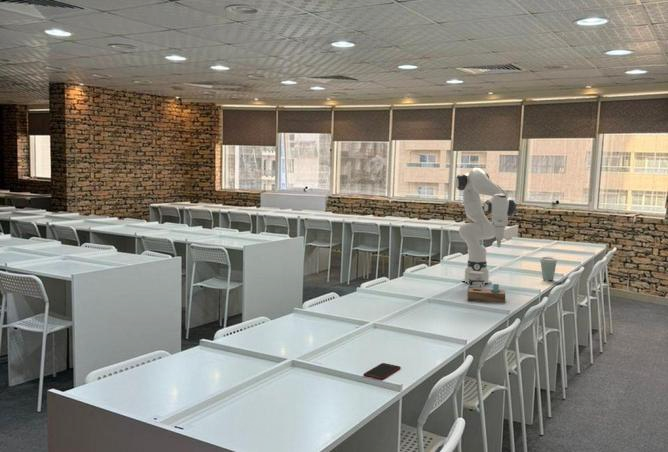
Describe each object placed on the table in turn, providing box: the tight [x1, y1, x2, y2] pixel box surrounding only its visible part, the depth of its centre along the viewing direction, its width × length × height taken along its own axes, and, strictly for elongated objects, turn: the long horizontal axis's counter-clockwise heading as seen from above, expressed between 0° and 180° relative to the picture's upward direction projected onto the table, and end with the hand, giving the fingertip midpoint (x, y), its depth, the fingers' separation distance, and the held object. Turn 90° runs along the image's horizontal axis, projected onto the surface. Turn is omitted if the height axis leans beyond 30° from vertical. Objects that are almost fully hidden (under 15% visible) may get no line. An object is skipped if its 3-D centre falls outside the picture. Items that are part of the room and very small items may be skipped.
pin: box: [492, 283, 500, 292], centre depth 317 cm, size 3×3×8 cm
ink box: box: [467, 271, 485, 289], centre depth 341 cm, size 8×5×12 cm, turn 62°
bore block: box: [467, 287, 506, 304], centre depth 319 cm, size 12×20×5 cm, turn 75°
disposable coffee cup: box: [540, 256, 558, 281], centre depth 380 cm, size 11×11×15 cm
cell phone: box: [363, 362, 402, 381], centre depth 200 cm, size 8×15×1 cm, turn 147°
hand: (498, 246), depth 327 cm, fingers open, 8 cm apart
